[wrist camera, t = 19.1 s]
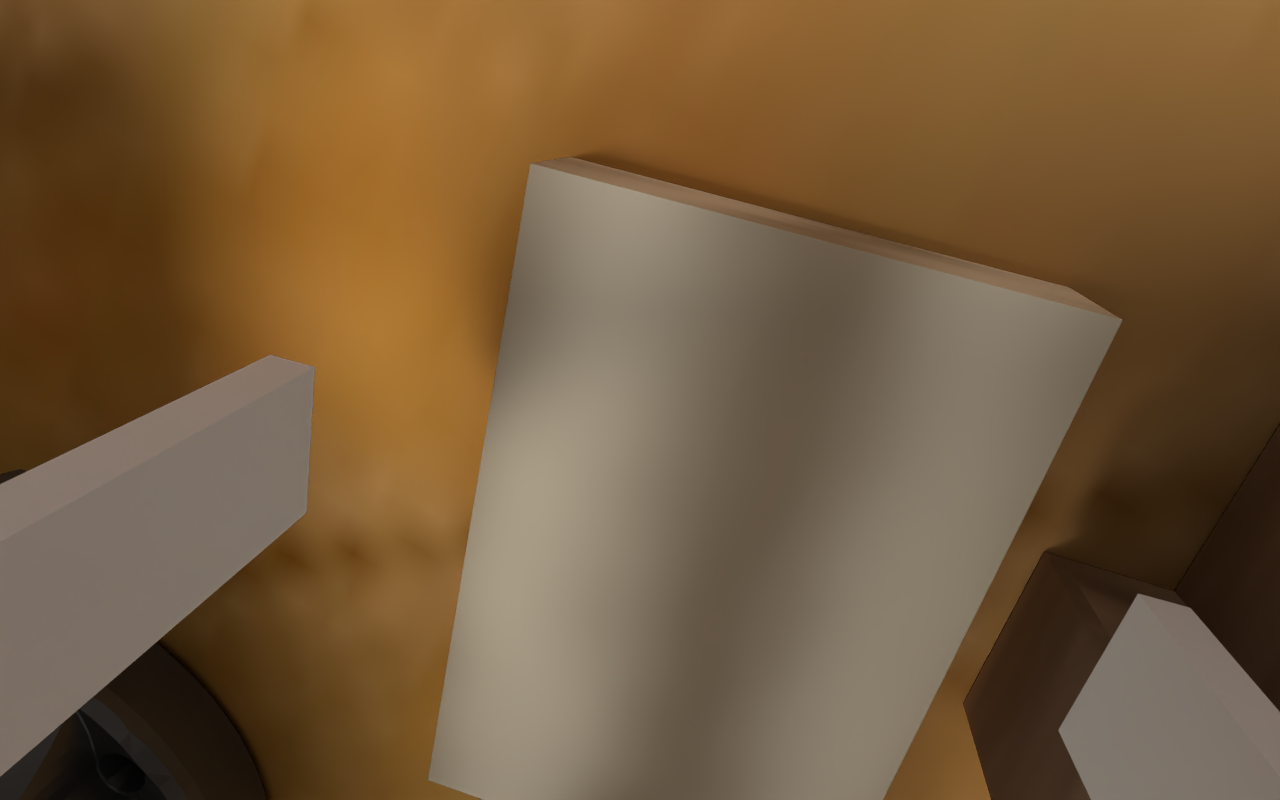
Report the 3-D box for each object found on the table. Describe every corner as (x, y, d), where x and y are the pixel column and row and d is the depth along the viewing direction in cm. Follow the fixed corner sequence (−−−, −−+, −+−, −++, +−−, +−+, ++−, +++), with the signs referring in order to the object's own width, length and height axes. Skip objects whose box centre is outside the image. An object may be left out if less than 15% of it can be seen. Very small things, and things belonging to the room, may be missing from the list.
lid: (475, 695, 21) (428, 780, 19) (577, 155, 16) (530, 163, 13) (819, 811, 20) (823, 918, 18) (1061, 282, 15) (1122, 320, 12)
